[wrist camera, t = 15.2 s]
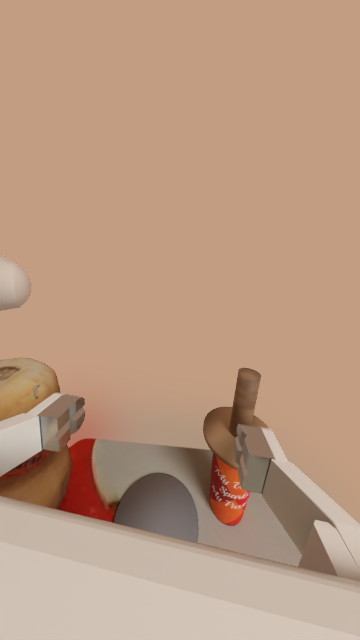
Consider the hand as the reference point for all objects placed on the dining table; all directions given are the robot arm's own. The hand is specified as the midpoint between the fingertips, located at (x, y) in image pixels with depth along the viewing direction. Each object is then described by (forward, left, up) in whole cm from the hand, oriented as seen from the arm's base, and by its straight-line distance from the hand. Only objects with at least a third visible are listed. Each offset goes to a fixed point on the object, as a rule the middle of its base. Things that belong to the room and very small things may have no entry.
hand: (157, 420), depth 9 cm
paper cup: (+3, +19, -30) cm, 35 cm away
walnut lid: (+3, +19, -15) cm, 24 cm away
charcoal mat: (-6, +11, -29) cm, 32 cm away
